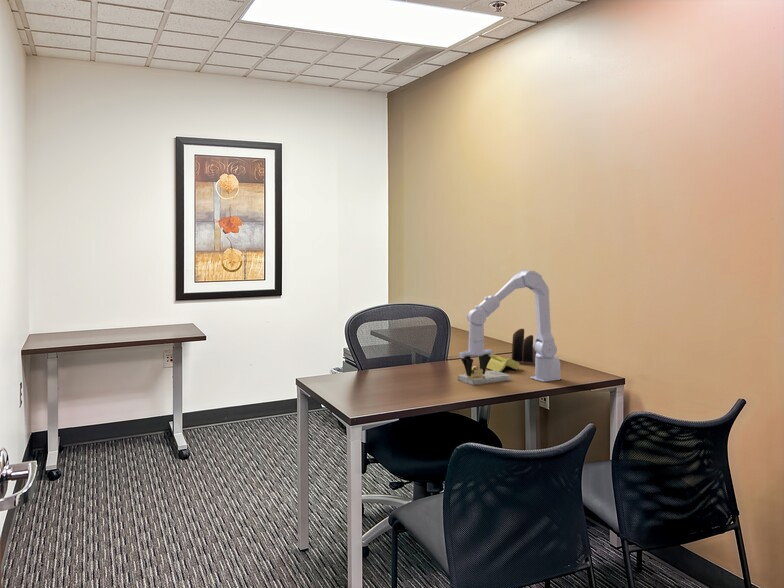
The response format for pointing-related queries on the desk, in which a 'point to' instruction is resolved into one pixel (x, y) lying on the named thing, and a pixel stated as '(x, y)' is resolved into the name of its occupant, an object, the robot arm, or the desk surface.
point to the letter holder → (523, 348)
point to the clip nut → (476, 372)
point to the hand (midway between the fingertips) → (475, 374)
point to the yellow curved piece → (501, 363)
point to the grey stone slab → (485, 378)
